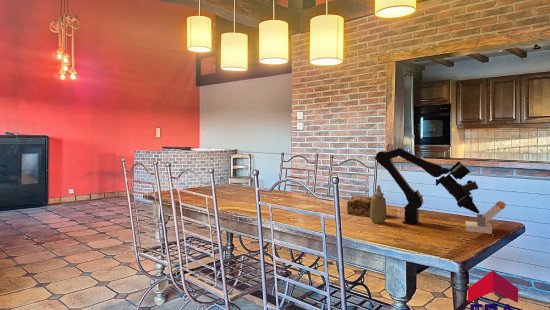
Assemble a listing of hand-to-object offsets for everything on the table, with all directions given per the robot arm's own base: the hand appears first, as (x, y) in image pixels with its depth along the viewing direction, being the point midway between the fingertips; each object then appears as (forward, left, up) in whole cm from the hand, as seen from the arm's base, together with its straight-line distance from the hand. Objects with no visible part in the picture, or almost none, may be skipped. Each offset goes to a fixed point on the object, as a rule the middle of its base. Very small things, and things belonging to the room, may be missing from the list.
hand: (478, 213), depth 165 cm
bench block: (0, -1, -8) cm, 8 cm away
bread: (-18, +51, -8) cm, 54 cm away
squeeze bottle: (-27, +34, -8) cm, 44 cm away
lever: (0, -1, -4) cm, 4 cm away
